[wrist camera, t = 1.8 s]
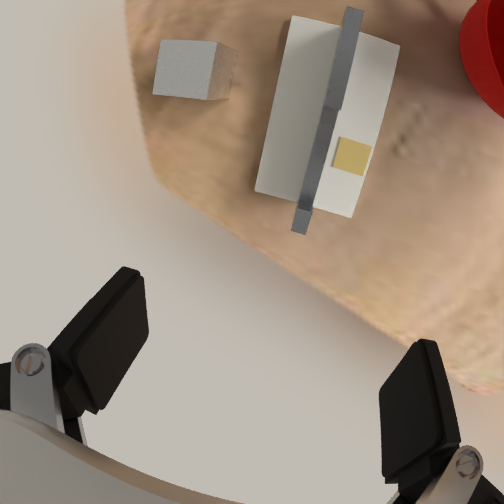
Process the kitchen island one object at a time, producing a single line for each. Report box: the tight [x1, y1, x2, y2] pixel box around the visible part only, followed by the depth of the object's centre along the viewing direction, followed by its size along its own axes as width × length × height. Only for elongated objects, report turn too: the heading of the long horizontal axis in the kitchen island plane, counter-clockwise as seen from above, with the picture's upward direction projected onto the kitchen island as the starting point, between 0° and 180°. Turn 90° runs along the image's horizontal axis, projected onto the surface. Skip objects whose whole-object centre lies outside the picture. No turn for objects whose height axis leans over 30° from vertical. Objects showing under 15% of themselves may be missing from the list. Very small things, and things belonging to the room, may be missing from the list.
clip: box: [152, 40, 238, 100], centre depth 23 cm, size 5×5×6 cm
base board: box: [254, 15, 400, 218], centre depth 25 cm, size 18×10×1 cm, turn 169°
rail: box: [291, 7, 364, 235], centre depth 22 cm, size 18×1×6 cm, turn 169°
